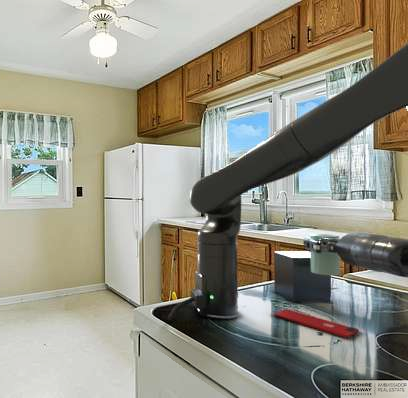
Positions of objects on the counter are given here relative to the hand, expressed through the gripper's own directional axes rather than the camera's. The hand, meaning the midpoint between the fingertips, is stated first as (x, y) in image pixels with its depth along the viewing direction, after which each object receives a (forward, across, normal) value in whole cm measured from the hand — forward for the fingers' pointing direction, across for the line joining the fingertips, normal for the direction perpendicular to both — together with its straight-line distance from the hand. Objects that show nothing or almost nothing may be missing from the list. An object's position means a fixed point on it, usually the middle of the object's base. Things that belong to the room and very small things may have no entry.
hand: (318, 241), depth 84 cm
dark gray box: (+8, 0, +16) cm, 18 cm away
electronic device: (-12, +9, +17) cm, 23 cm away
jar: (-2, 0, +8) cm, 8 cm away
